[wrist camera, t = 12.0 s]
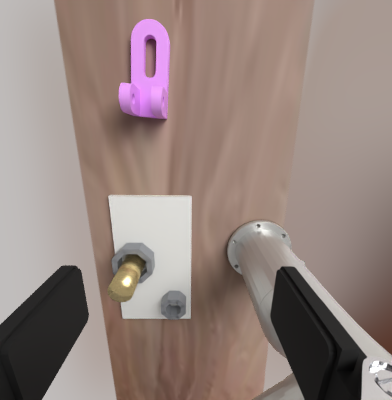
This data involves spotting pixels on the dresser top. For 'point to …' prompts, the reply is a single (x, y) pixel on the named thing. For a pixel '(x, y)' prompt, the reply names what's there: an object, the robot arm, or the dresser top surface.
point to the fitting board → (155, 252)
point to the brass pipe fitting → (126, 278)
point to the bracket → (140, 84)
